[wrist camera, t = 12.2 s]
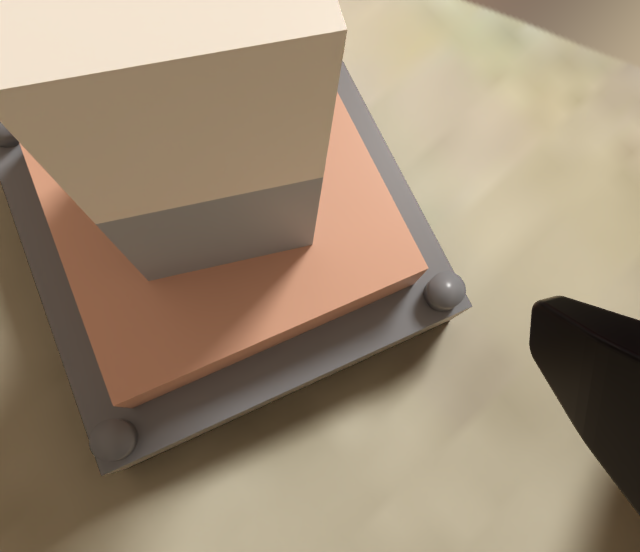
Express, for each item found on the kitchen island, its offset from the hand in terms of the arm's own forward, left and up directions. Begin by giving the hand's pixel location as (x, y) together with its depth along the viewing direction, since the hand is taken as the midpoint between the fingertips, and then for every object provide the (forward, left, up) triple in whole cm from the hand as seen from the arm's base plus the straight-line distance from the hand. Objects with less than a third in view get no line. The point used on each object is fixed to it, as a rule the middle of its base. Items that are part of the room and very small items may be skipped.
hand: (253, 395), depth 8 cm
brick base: (+7, -1, -12) cm, 14 cm away
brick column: (+7, -1, -8) cm, 10 cm away
